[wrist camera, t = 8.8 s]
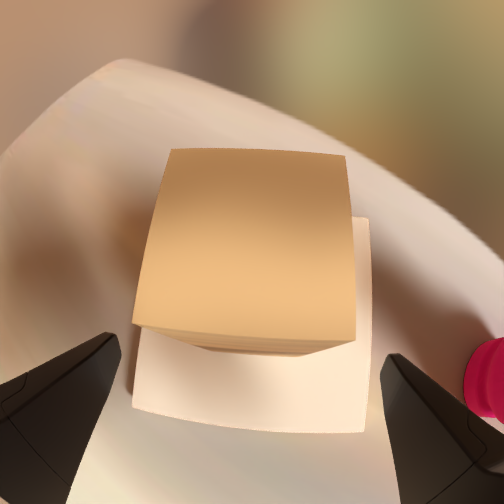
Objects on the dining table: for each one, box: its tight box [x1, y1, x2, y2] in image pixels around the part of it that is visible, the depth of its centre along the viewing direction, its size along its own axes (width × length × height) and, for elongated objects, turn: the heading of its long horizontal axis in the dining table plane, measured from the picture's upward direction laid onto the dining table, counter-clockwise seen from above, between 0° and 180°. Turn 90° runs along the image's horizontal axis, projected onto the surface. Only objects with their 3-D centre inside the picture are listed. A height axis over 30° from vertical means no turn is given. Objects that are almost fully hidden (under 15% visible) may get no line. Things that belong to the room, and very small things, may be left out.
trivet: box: [132, 217, 372, 433], centre depth 18 cm, size 14×14×2 cm
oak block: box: [132, 148, 356, 357], centre depth 12 cm, size 5×5×11 cm
